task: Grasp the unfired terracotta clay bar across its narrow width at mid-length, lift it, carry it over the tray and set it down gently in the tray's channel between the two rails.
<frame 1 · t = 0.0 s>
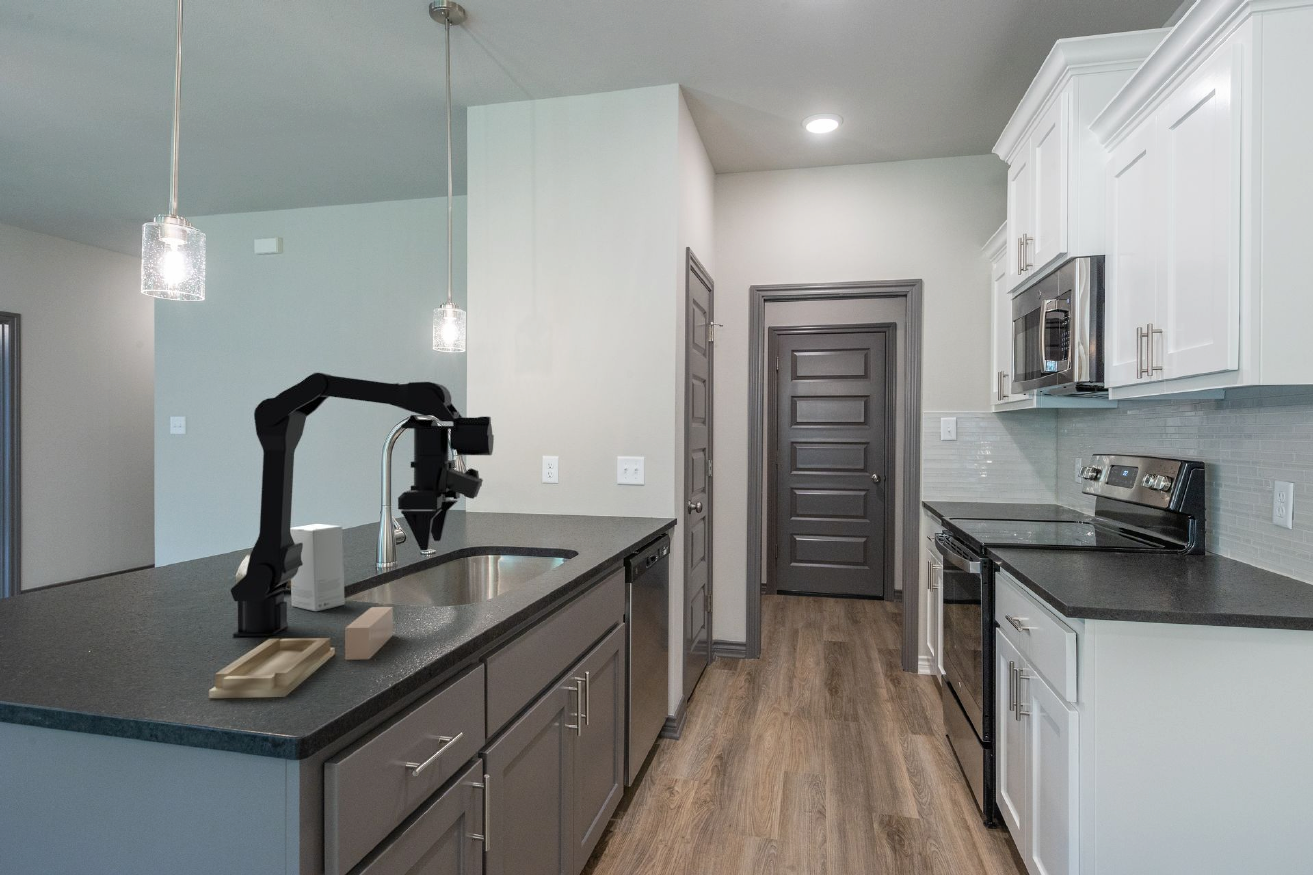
hand: (431, 545, 122), 15 cm above the worktop, fingers open, 9 cm apart
skincare box: (316, 606, 137), on the worktop
clay bar: (370, 647, 113), on the worktop
ceramic sculpture: (266, 594, 147), on the worktop
tray: (277, 674, 100), on the worktop
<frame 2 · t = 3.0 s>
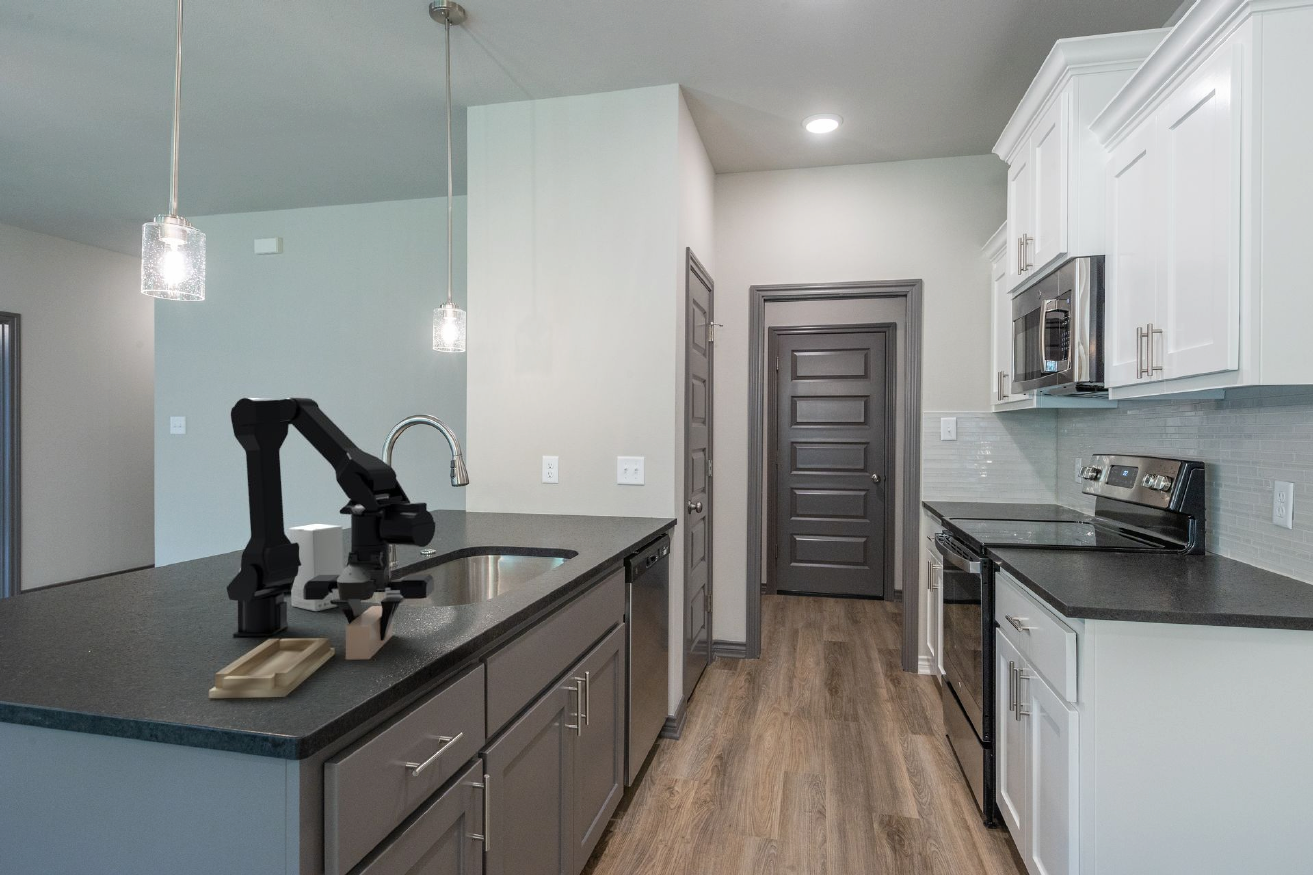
hand: (370, 640, 113), 1 cm above the worktop, fingers closed on clay bar, 3 cm apart
clay bar: (370, 646, 113), on the worktop, touching gripper
everything else where it was.
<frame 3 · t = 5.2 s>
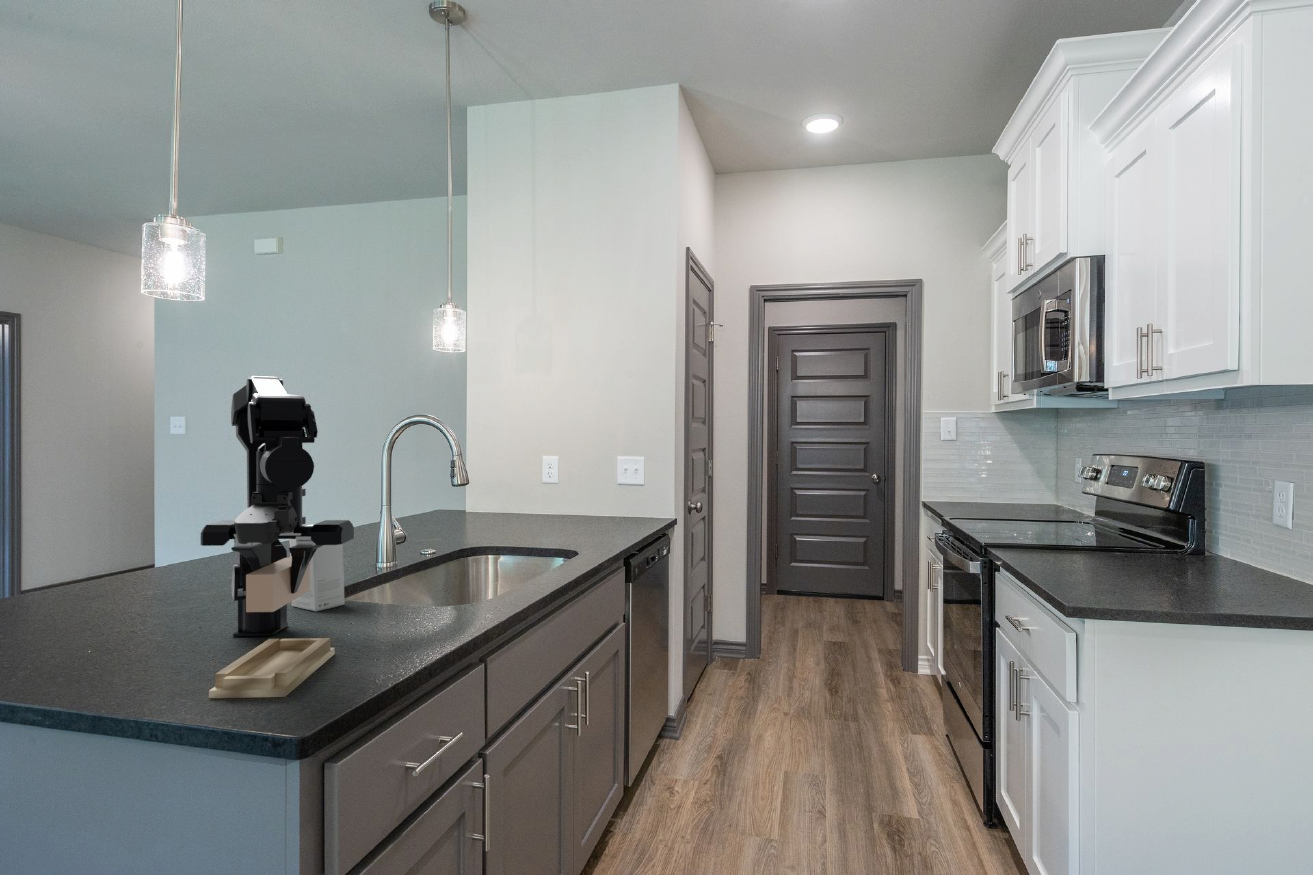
hand: (279, 593, 100), 12 cm above the worktop, fingers closed on clay bar, 3 cm apart
clay bar: (279, 600, 100), point 10 cm above the worktop, touching gripper
everything else where it was.
when the fingers open (3 cm above the worktop, at t = 7.4 s): clay bar drops 1 cm, resting on tray.
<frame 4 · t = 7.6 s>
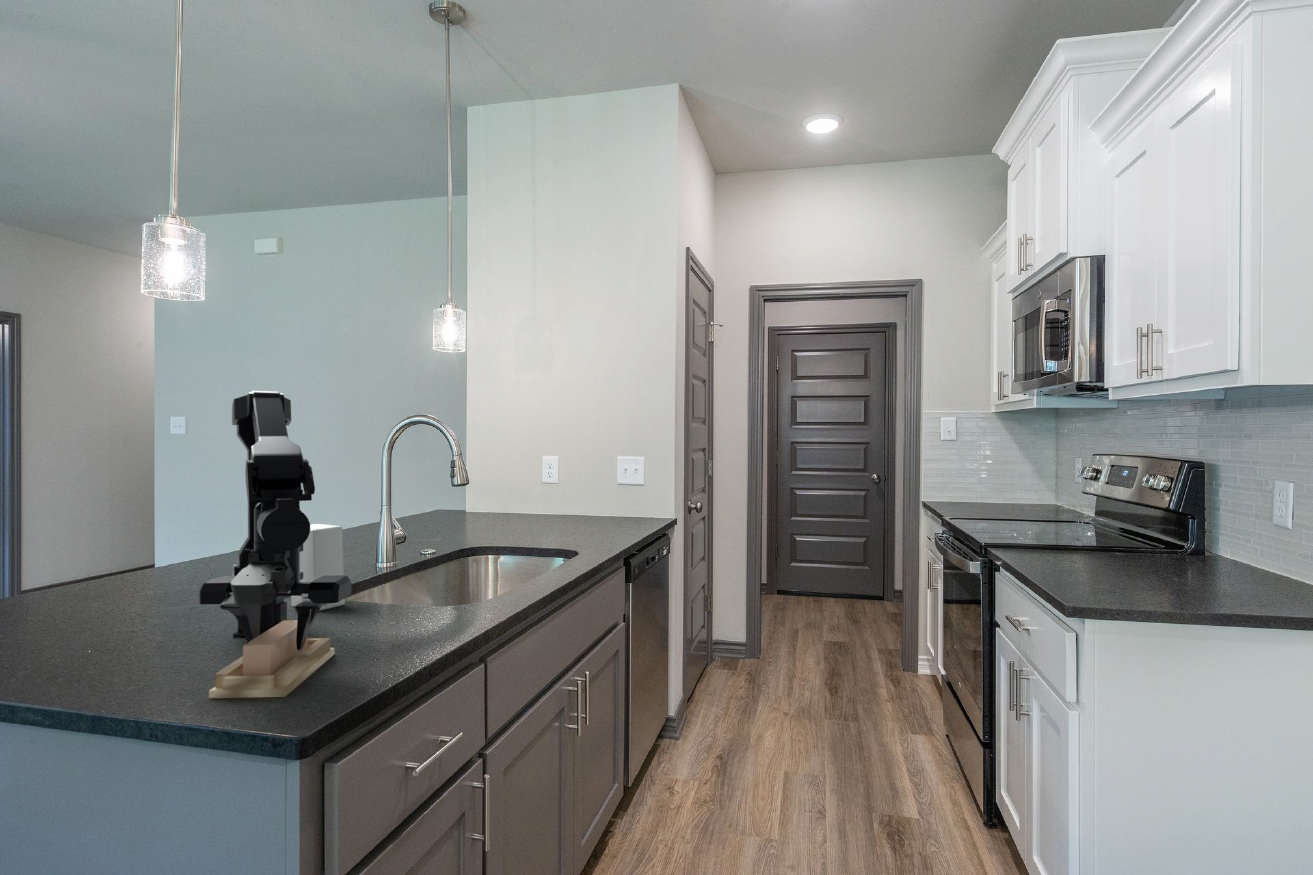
hand: (277, 649, 100), 3 cm above the worktop, fingers open, 6 cm apart
clay bar: (277, 666, 100), point 1 cm above the worktop, touching tray
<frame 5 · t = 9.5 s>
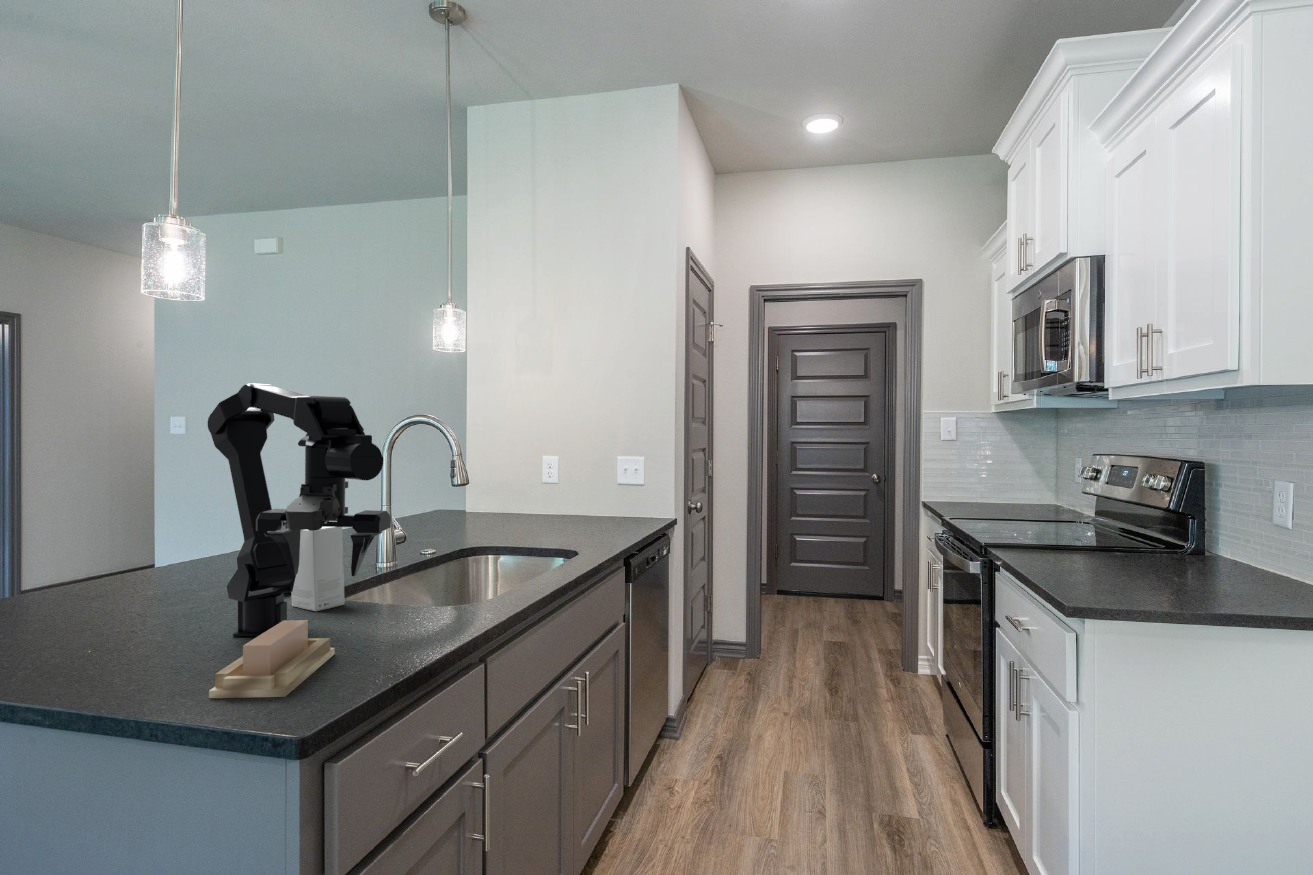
hand: (324, 575, 111), 12 cm above the worktop, fingers open, 9 cm apart
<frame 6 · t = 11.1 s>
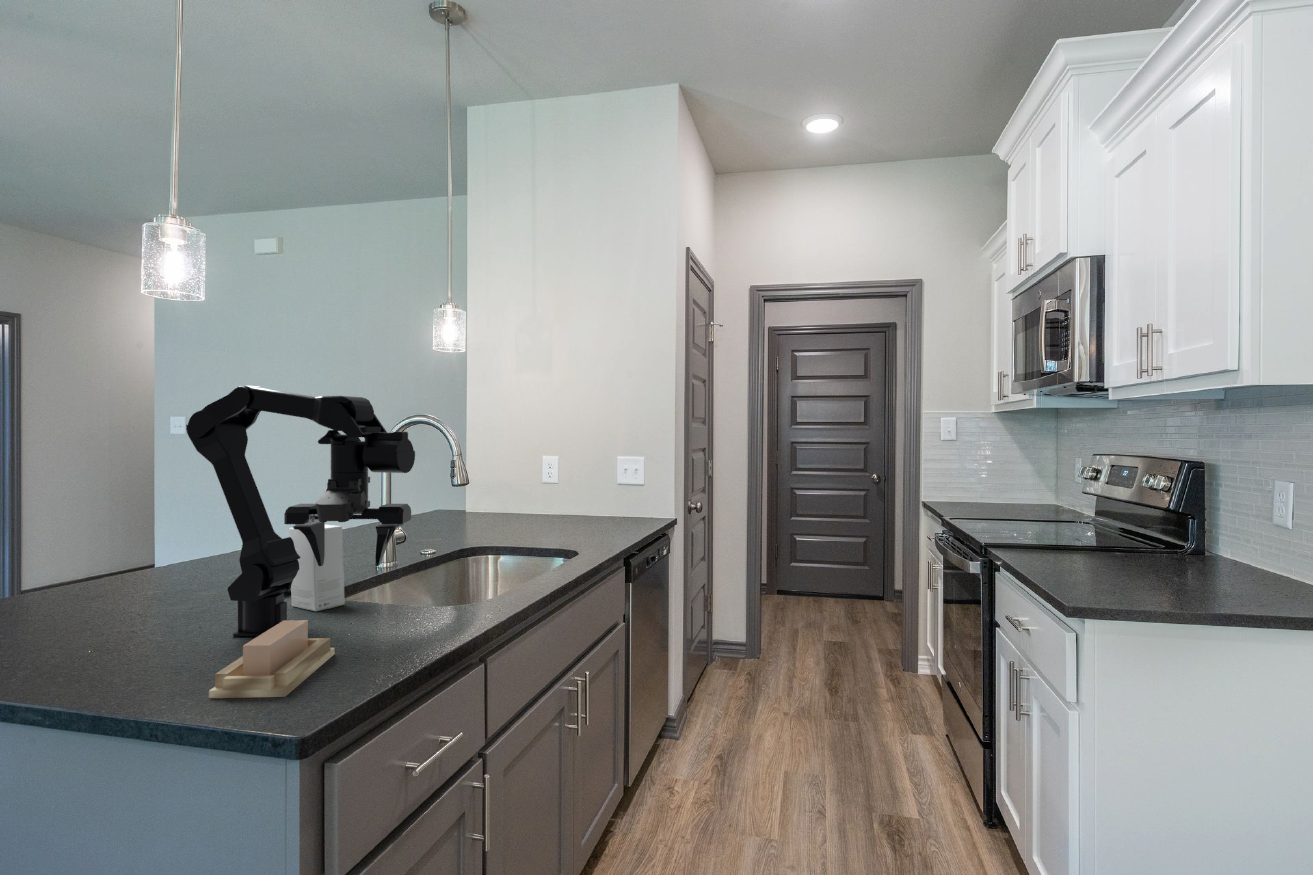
hand: (349, 565, 117), 12 cm above the worktop, fingers open, 9 cm apart
at the end: clay bar inside the target area on the tray (0.0 cm from its centre), point 1.0 cm above the tray's base; the gripper is holding nothing; clay bar tilted 0° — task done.
